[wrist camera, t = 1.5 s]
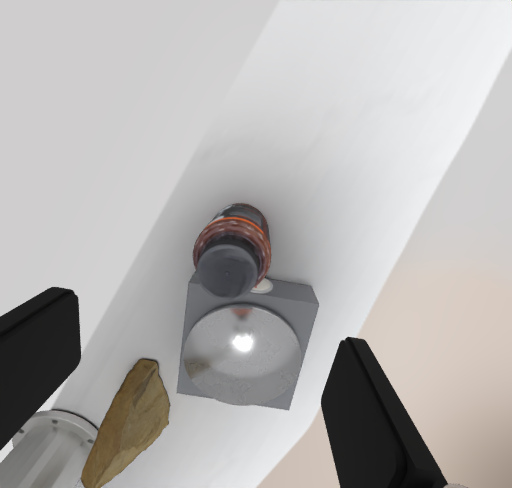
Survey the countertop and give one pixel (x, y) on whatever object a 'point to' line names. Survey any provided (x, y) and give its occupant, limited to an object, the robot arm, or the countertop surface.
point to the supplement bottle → (233, 252)
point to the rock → (128, 424)
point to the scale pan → (242, 354)
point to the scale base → (265, 295)
